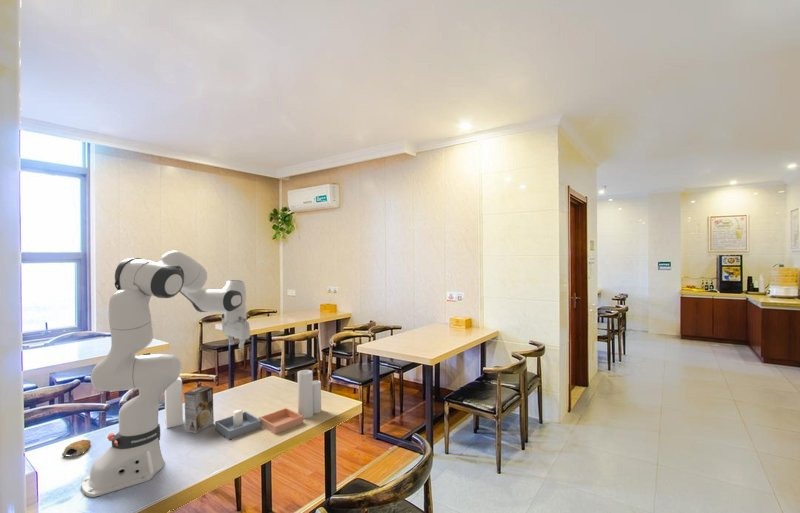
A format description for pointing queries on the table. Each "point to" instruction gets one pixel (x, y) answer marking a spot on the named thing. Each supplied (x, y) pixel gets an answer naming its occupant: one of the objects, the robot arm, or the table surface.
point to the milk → (174, 404)
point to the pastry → (77, 448)
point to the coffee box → (198, 409)
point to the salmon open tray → (281, 420)
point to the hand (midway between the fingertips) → (236, 346)
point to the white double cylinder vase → (308, 394)
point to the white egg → (237, 418)
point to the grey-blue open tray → (248, 425)
